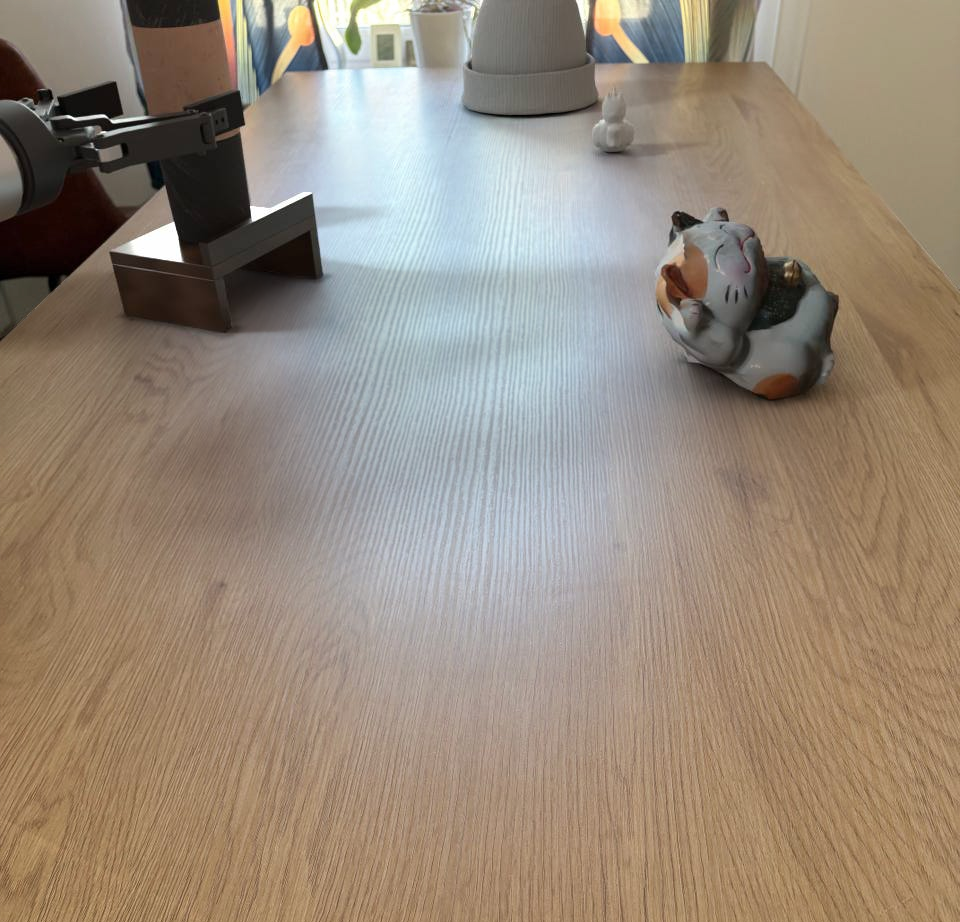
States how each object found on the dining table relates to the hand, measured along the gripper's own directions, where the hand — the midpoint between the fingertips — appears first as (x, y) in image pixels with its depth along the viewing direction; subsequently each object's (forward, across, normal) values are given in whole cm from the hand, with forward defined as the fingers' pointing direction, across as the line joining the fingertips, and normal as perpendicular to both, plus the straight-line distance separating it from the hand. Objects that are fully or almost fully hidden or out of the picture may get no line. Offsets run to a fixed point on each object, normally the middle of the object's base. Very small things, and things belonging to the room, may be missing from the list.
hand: (176, 102), depth 94 cm
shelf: (+2, 0, -18) cm, 18 cm away
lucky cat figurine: (+3, +51, -18) cm, 54 cm away
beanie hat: (+86, -6, -18) cm, 88 cm away
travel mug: (+2, 0, -12) cm, 12 cm away
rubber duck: (+62, +17, -18) cm, 67 cm away
